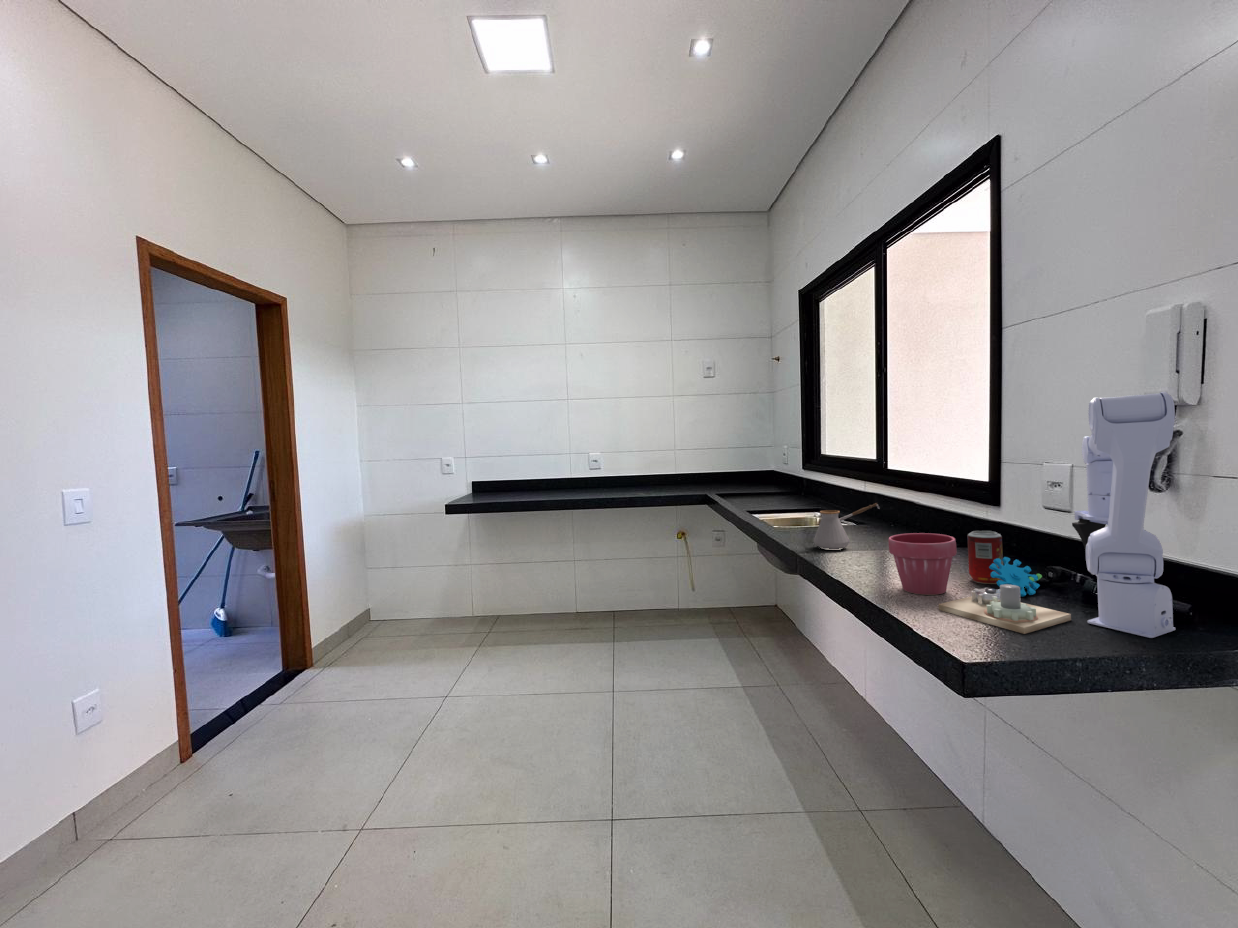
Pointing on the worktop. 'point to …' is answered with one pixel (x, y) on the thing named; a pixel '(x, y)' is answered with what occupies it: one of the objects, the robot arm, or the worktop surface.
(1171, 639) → the worktop surface
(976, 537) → the soda can
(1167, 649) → the worktop surface
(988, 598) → the sun gear
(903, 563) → the plant pot
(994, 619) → the carrier plate
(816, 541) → the coffee pot
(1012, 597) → the gear
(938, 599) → the worktop surface
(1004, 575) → the blue piece
